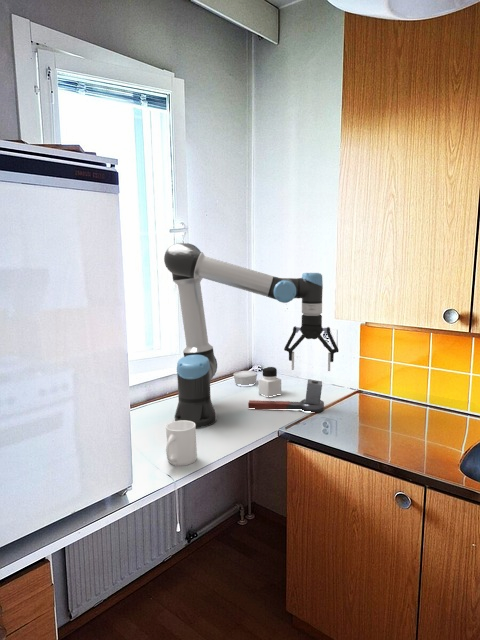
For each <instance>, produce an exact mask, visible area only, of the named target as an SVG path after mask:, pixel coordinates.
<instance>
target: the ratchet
mask: <svg viewBox="0 0 480 640" xmlns="http://www.w3.org/2000/svg"><path fill="white" fill-rule="evenodd" d="M305 401H306V398H305V399H302V400H301V401H289V400H285V401H284V400H254V399H253V400H252V399H251V400H248V407H247V408H255V409H302V410H304V411H311V412H315V413H318V414H321V413H324V411H325V401H323V400H321V399H320V405H316V404H308V403H305Z"/></svg>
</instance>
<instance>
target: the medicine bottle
mask: <svg viewBox="0 0 480 640" xmlns="http://www.w3.org/2000/svg"><path fill="white" fill-rule="evenodd" d="M257 382H258V394H259V393H260V394H263V395H265V396H268V397H269V396H273V395H277V394H281V395H282V379H281V378H279V377H278V371H277V368H276V367H274V366H266V367H263V368H262V377H260V378H258V381H257Z"/></svg>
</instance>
